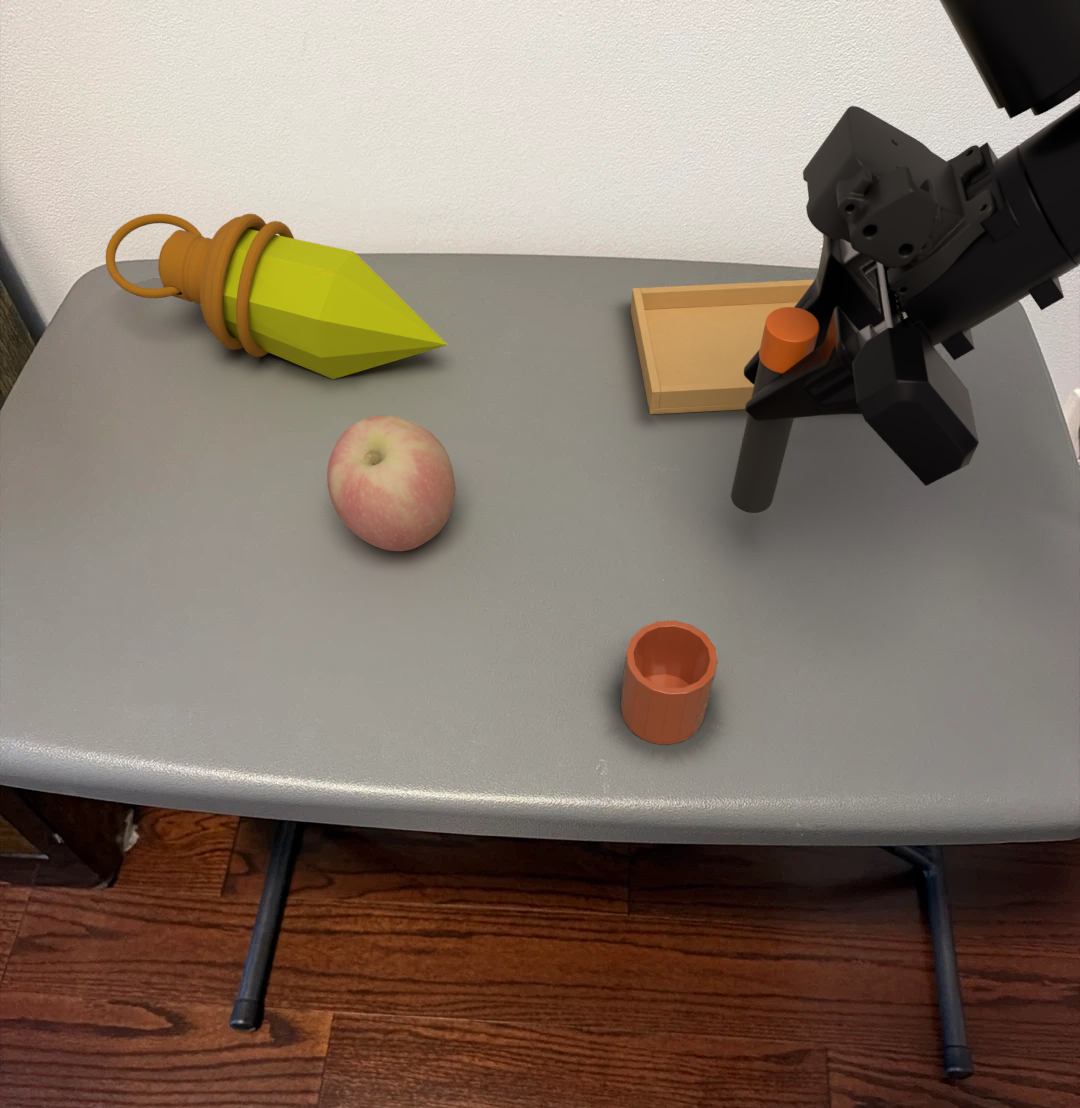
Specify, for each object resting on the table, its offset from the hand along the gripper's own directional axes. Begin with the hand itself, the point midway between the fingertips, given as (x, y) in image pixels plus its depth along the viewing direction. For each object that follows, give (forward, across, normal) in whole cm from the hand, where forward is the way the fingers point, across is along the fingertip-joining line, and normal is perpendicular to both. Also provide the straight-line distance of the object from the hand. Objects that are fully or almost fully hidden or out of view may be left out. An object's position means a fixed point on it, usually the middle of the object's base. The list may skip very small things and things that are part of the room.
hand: (748, 395), depth 56 cm
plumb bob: (+31, -19, -12) cm, 38 cm away
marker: (+4, 0, +6) cm, 8 cm away
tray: (+8, -20, +11) cm, 24 cm away
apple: (+24, -2, -4) cm, 24 cm away
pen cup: (+12, +11, +8) cm, 18 cm away
